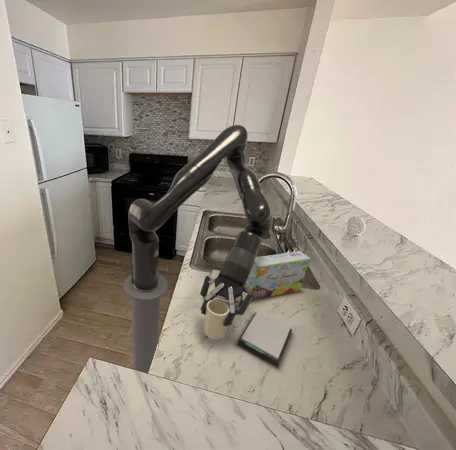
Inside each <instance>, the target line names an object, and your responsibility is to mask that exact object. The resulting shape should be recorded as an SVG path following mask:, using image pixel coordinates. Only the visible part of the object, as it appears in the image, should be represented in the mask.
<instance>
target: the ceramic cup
mask: <svg viewBox="0 0 456 450" xmlns="http://www.w3.org/2000/svg"><path fill="white" fill-rule="evenodd" d="M228 313H230V306H229V305H228V304H227V303H226V302H224V301H222V300H219V299H212V300H210V301H209V302H208V303H207V307H206V314H205V315H204V322H203V332H204V334H205V336H207V337H208V338H210V339H211V340H221V339H223V338H225V336H226V334H227V328H228V327H226V326H224V322H225V320H226V318H227V316H228Z"/></svg>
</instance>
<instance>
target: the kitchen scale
mask: <svg viewBox="0 0 456 450" xmlns="http://www.w3.org/2000/svg"><path fill="white" fill-rule="evenodd" d="M292 332H293V328H291V326H289V325H286V324H284V323H282V322H280V321H278V320H276V319H274V318H271V317H269V316H268V315H265V314H262V313H261V312H259V311H255V312H254V314H253V316H252V317H251V319H250V320H249V322H248V323H247V325H246V327H245V329H244V330H243V332H242V333H241V335H240V337H239V338H238V340H237V346H239V347H241V348H243V350H246V351H248V352H250V353H251V354H253V355H254V356H256V357H258V358H259V359H261V360H263V361H265V362H267V363H268V364H270V365H272V366H274V367H275V368H279V365H280V362H281V359H282V357H283V355H284V352H285V350H286V347H287V344H288V342H289V339H290V337H291V334H292Z"/></svg>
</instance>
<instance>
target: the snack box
mask: <svg viewBox="0 0 456 450" xmlns="http://www.w3.org/2000/svg"><path fill="white" fill-rule="evenodd" d="M310 263H311V256H310V257H309V256H308V255H307V254H305V253H304V252H303V251H301V250H297V251H291V252H283V253H277V254H269V255H264V256H256V257H255V260H254V264H253V267H252V269H251V271H250V274H249V276H248V278H247V281H246V283H245V285H244V288H243V291H244V292H245V293H247V294H250V295H251V296H252V300H251V301H253V300H258V299H259V300H260V299H263V298H269V297H274V296H280V295H287V294H291V293H292V294H293V293H297V292H300V290H301V287H302V284H303V281H304V278H305V275H306V273H307V271H308V268H309V265H310Z"/></svg>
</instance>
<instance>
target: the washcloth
mask: <svg viewBox="0 0 456 450" xmlns="http://www.w3.org/2000/svg"><path fill="white" fill-rule="evenodd" d="M220 271H221V270H219V269H212V271H211V275H210V278H214V279H216V278H217V277H218V275H219V273H220ZM213 289H215V284H214V283H212V285H210V286H209V289H208V292H207V295H208V294H209V293H210V292H211V291H212V290H213ZM214 299H219V300H222V301H224V302H226V303H227V304H228V305H229V307H230V304H229V300H227V299H225V298H224V297H220V296H219V295H218V296H217V297H216V298H214ZM241 299H242V295H241V296H239V297H237V298H236V308H239V307H240V302H241Z"/></svg>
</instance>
